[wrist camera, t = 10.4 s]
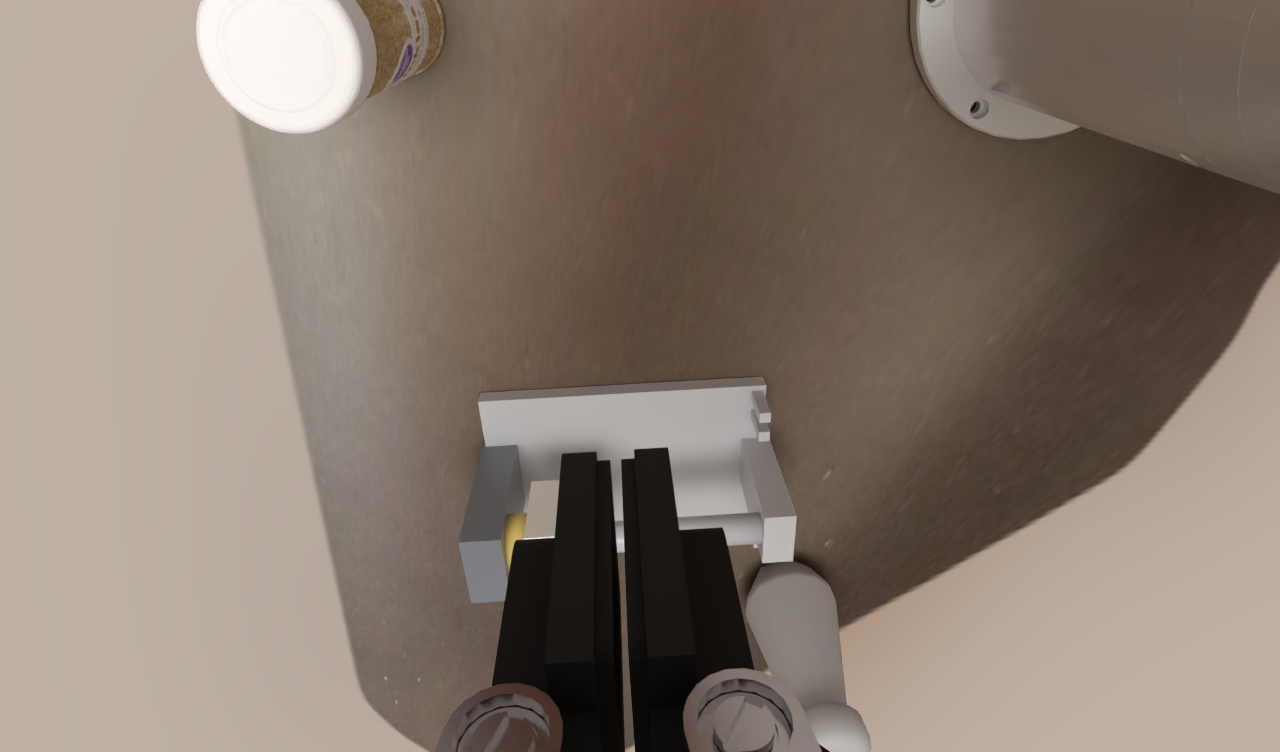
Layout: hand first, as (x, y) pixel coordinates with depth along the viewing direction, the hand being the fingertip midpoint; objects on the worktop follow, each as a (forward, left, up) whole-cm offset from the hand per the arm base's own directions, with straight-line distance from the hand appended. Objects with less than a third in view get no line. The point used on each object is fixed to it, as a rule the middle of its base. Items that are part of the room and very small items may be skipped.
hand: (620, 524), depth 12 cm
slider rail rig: (0, +18, -27) cm, 33 cm away
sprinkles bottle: (+9, -6, -27) cm, 29 cm away
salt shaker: (-10, +29, -27) cm, 41 cm away
